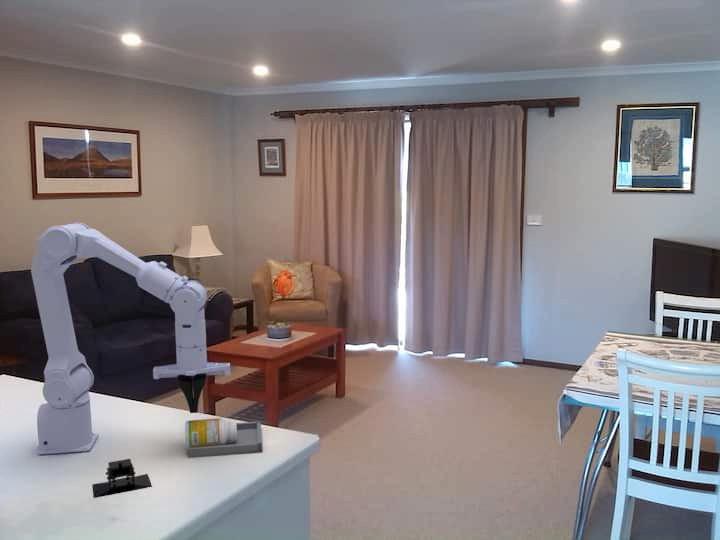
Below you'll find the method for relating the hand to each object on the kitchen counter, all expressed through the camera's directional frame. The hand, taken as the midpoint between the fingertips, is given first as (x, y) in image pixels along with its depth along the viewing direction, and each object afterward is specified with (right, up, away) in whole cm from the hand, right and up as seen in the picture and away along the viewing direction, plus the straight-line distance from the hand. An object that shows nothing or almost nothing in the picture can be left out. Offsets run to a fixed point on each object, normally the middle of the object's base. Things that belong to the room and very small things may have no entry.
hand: (194, 411), depth 130 cm
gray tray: (+6, -7, +2) cm, 9 cm away
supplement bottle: (-1, -4, -2) cm, 5 cm away
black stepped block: (-9, -10, -16) cm, 21 cm away
